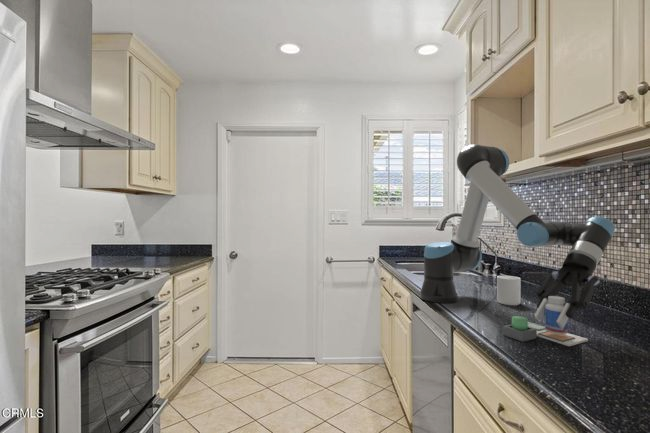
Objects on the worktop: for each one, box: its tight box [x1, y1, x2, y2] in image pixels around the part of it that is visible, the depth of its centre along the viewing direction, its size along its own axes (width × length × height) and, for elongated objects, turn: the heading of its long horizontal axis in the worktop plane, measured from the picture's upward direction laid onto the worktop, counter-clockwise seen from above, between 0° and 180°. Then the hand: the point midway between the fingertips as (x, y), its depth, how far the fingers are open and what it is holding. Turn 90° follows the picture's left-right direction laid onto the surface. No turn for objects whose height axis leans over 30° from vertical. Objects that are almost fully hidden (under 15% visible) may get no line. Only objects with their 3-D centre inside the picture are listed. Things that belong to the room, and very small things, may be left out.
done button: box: [511, 315, 529, 331], centre depth 99 cm, size 4×4×4 cm
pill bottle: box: [544, 295, 569, 335], centre depth 97 cm, size 6×5×10 cm
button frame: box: [502, 323, 537, 342], centre depth 99 cm, size 6×6×3 cm
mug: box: [496, 275, 522, 306], centre depth 139 cm, size 12×8×10 cm
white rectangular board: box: [528, 321, 589, 347], centre depth 101 cm, size 17×9×1 cm, turn 26°
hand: (548, 321), depth 96 cm, fingers closed on pill bottle, 5 cm apart
